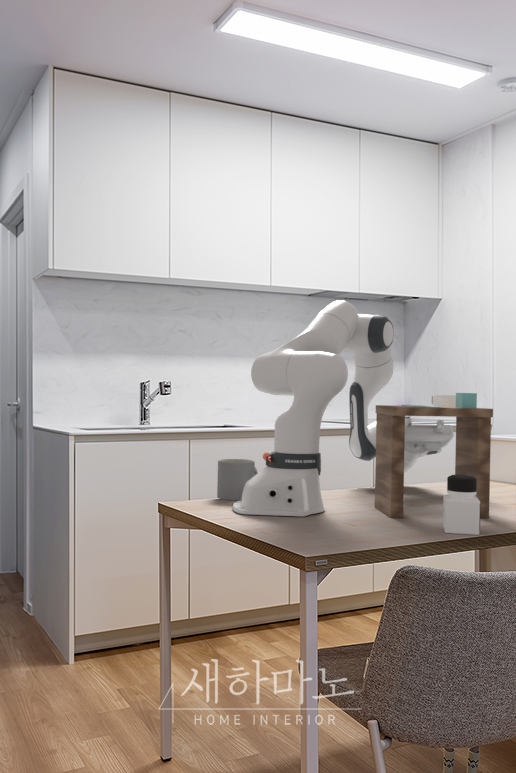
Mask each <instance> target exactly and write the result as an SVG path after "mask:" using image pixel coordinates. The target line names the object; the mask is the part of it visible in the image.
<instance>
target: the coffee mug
mask: <svg viewBox="0 0 516 773" xmlns="http://www.w3.org/2000/svg"><path fill="white" fill-rule="evenodd" d="M258 473H259V472H258V469H257V467H256V466H255V460H254V459H248V458H247V459H246V458H221V459H218V460H217V488H216V489H217V490H216V491H217V492H216V493H217V495H216V496H217V499H219V500H223V501H235V502H238V501H241V499H242V493H243V489H244V486H245V484H246V482H247V481H248V480H250V479H251V478H252V477H254V476H255V475H256V474H258Z"/></svg>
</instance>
